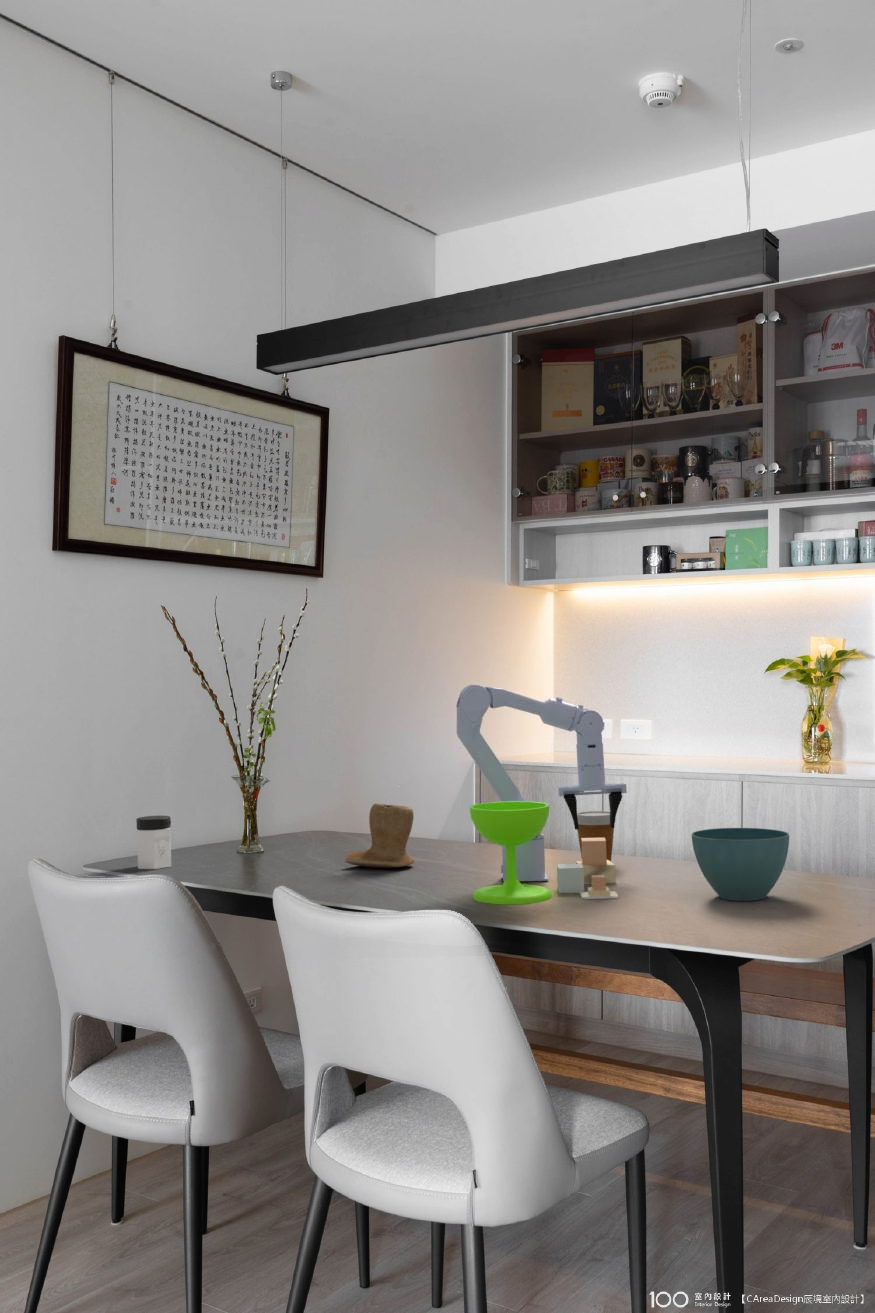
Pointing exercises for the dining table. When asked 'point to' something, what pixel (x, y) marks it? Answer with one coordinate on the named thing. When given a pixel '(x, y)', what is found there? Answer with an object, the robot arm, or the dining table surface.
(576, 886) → the grey block
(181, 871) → the dining table surface
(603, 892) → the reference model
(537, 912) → the dining table surface
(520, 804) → the wineglass
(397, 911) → the dining table surface
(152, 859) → the jar
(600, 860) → the terracotta block
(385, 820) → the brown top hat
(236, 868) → the dining table surface
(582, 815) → the disposable coffee cup
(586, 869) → the maple base block
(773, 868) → the dark teal bowl
